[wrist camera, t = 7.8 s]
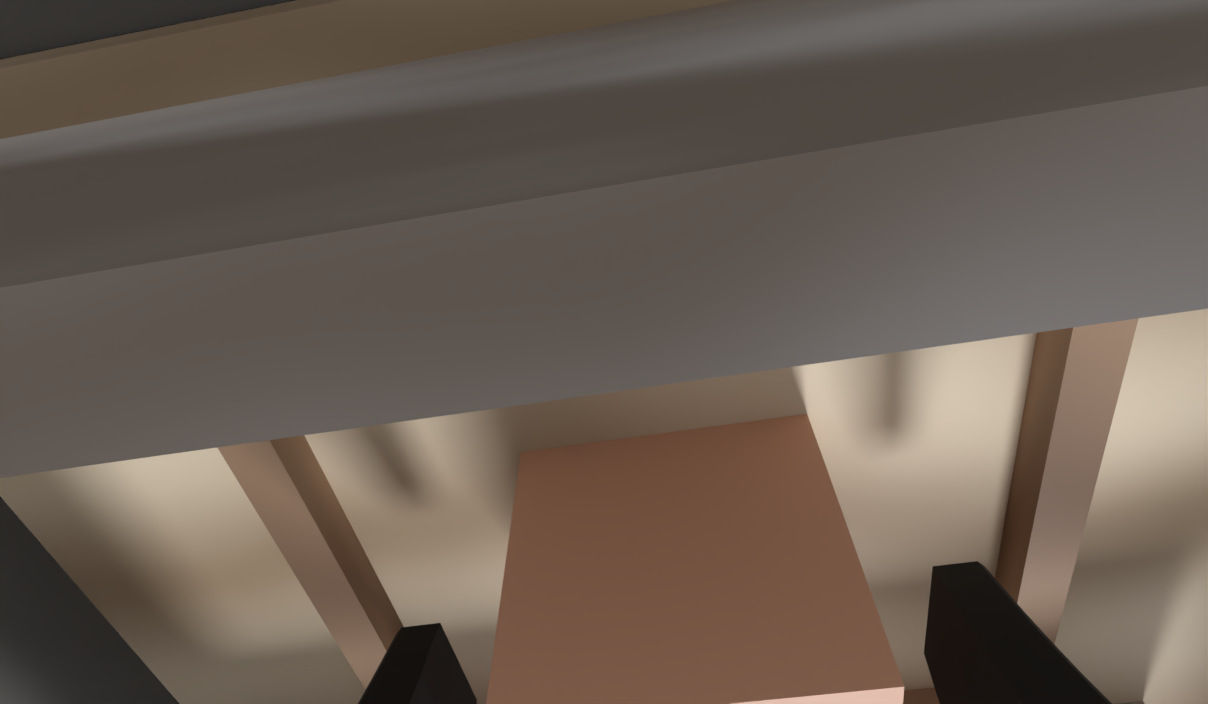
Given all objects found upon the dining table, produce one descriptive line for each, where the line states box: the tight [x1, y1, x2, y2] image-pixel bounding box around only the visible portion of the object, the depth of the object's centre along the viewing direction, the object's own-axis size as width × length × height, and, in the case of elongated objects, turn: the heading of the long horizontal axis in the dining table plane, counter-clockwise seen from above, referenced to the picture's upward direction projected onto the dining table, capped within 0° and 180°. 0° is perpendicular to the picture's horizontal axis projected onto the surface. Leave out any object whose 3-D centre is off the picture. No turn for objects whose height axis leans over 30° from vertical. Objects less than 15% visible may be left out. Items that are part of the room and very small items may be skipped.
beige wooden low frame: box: [0, 0, 1208, 704], centre depth 11 cm, size 18×22×6 cm
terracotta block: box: [486, 414, 904, 704], centre depth 11 cm, size 4×4×4 cm
